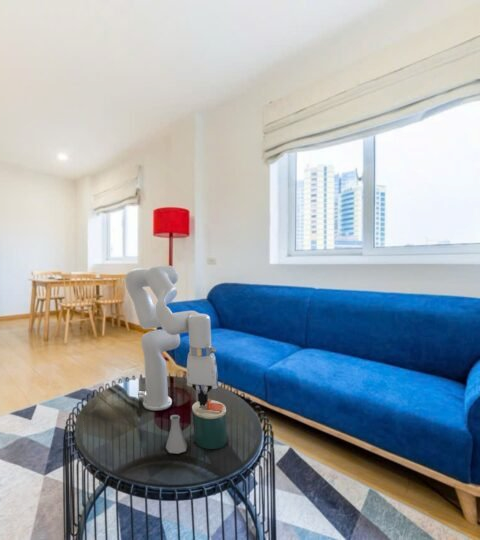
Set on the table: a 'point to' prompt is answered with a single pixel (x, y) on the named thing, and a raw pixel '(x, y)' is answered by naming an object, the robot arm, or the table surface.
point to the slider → (214, 406)
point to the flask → (176, 437)
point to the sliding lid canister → (209, 426)
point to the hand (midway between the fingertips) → (203, 403)
